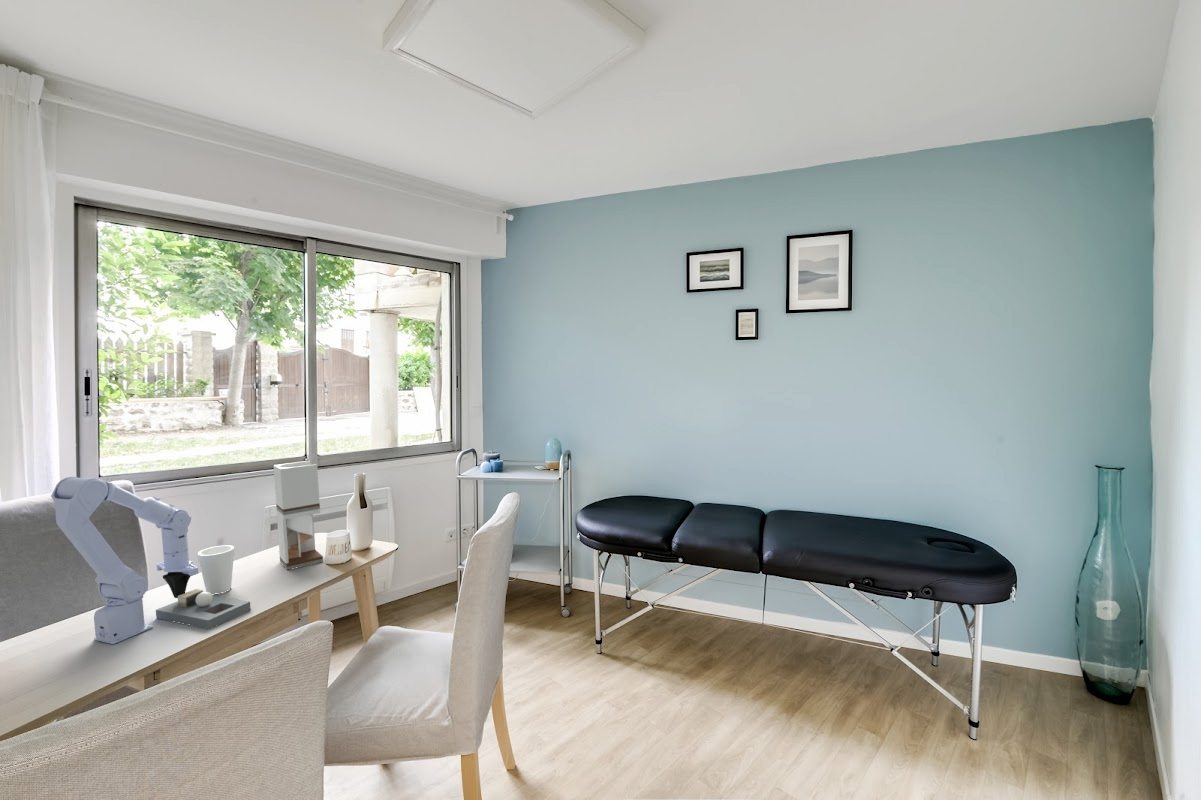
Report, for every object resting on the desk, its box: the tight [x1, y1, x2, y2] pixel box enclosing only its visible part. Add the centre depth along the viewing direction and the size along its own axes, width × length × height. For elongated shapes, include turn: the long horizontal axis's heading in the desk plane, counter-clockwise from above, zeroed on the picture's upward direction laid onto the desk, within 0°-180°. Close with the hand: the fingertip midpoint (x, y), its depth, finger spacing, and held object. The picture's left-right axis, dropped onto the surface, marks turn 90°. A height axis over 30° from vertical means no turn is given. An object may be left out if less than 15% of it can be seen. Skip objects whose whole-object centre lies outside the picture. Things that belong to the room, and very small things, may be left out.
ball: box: [195, 591, 213, 607], centre depth 158 cm, size 4×4×4 cm
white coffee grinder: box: [273, 460, 324, 570], centre depth 197 cm, size 11×11×35 cm
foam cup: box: [197, 544, 235, 594], centre depth 174 cm, size 10×9×13 cm
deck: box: [155, 595, 251, 630], centre depth 158 cm, size 12×21×2 cm, turn 70°
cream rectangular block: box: [177, 588, 204, 608], centre depth 160 cm, size 5×3×3 cm
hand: (179, 596), depth 162 cm, fingers closed
